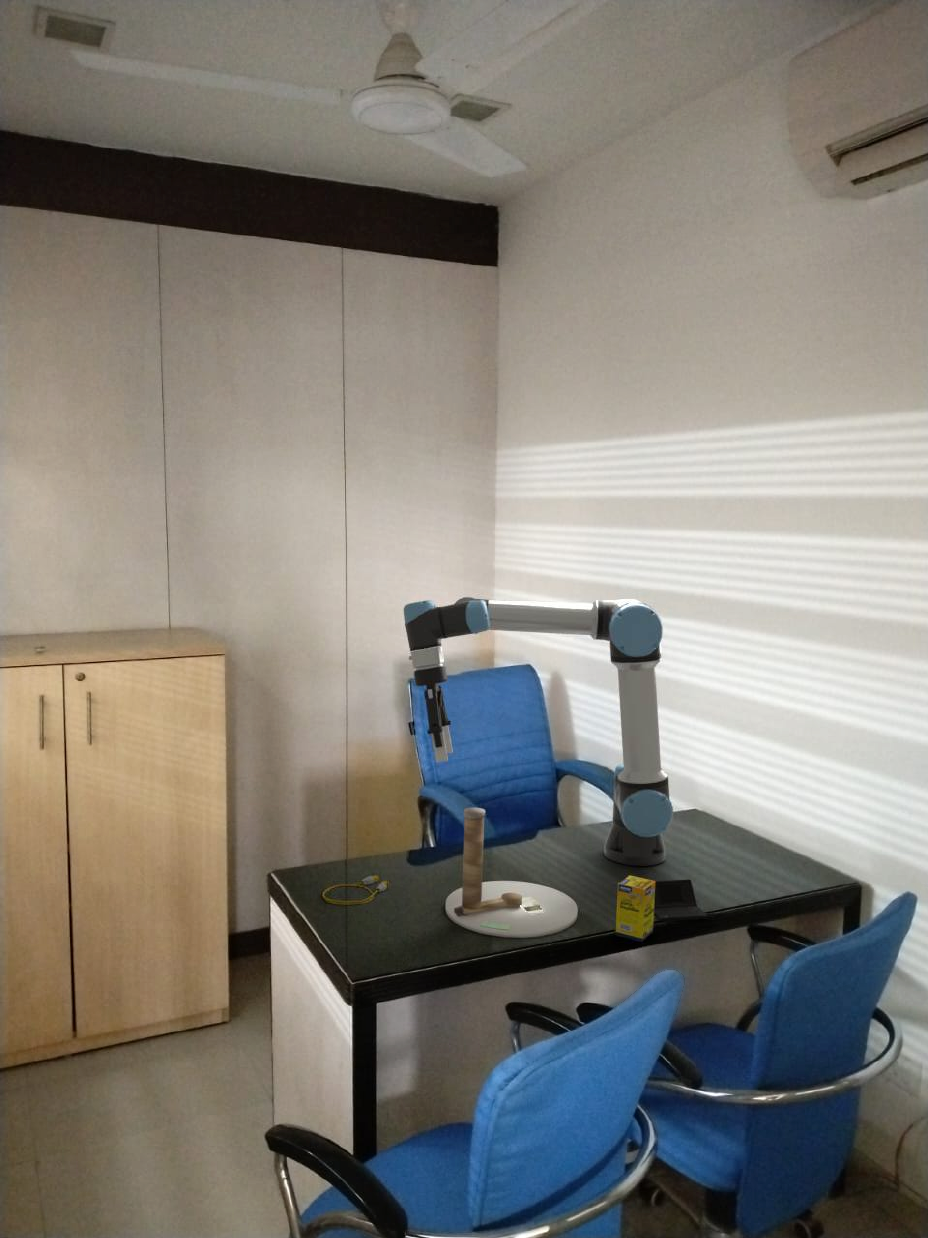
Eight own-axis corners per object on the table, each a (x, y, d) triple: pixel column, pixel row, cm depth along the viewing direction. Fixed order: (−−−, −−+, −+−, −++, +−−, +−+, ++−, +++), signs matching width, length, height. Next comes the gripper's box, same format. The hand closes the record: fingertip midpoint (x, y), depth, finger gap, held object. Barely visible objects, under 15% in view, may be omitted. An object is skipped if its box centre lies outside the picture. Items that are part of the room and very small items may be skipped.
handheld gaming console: (666, 918, 207) (657, 871, 212) (648, 928, 212) (639, 882, 218) (712, 919, 211) (702, 873, 216) (693, 929, 217) (683, 884, 222)
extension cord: (400, 900, 218) (400, 891, 217) (330, 910, 211) (330, 901, 211) (380, 881, 229) (381, 873, 228) (313, 890, 222) (314, 881, 222)
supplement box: (642, 943, 198) (645, 889, 197) (614, 935, 201) (617, 883, 200) (653, 933, 203) (656, 880, 202) (626, 926, 206) (628, 874, 205)
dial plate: (574, 889, 226) (574, 883, 226) (580, 941, 198) (581, 934, 198) (450, 883, 227) (450, 877, 227) (439, 933, 200) (439, 927, 199)
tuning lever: (514, 897, 215) (517, 800, 213) (525, 904, 212) (529, 806, 210) (450, 911, 207) (453, 810, 205) (461, 918, 203) (464, 816, 201)
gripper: (419, 667, 246) (434, 753, 245) (406, 672, 221) (422, 767, 220) (449, 662, 245) (464, 748, 245) (439, 666, 220) (456, 762, 220)
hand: (444, 757), depth 233 cm, fingers open, 13 cm apart
